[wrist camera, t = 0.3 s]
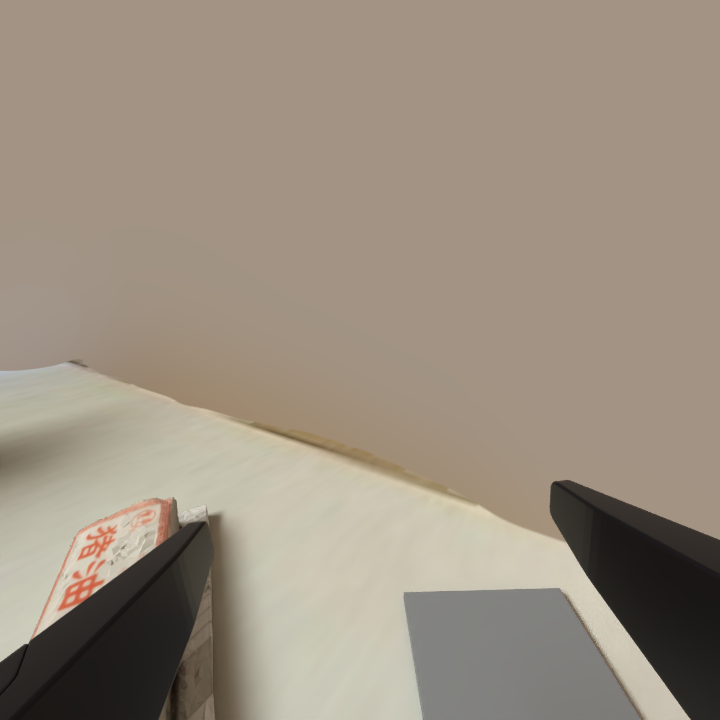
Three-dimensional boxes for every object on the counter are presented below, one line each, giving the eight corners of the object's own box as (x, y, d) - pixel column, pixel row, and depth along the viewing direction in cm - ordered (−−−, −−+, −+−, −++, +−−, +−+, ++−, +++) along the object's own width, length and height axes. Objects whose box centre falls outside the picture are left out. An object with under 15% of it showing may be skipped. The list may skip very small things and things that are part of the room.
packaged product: (207, 733, 13) (-174, 935, 9) (222, 796, 15) (-100, 992, 11) (202, 472, 29) (56, 507, 25) (210, 517, 30) (73, 556, 26)
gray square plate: (724, 867, 13) (729, 861, 13) (449, 883, 13) (450, 877, 13) (558, 593, 24) (559, 588, 23) (403, 597, 23) (403, 592, 23)
